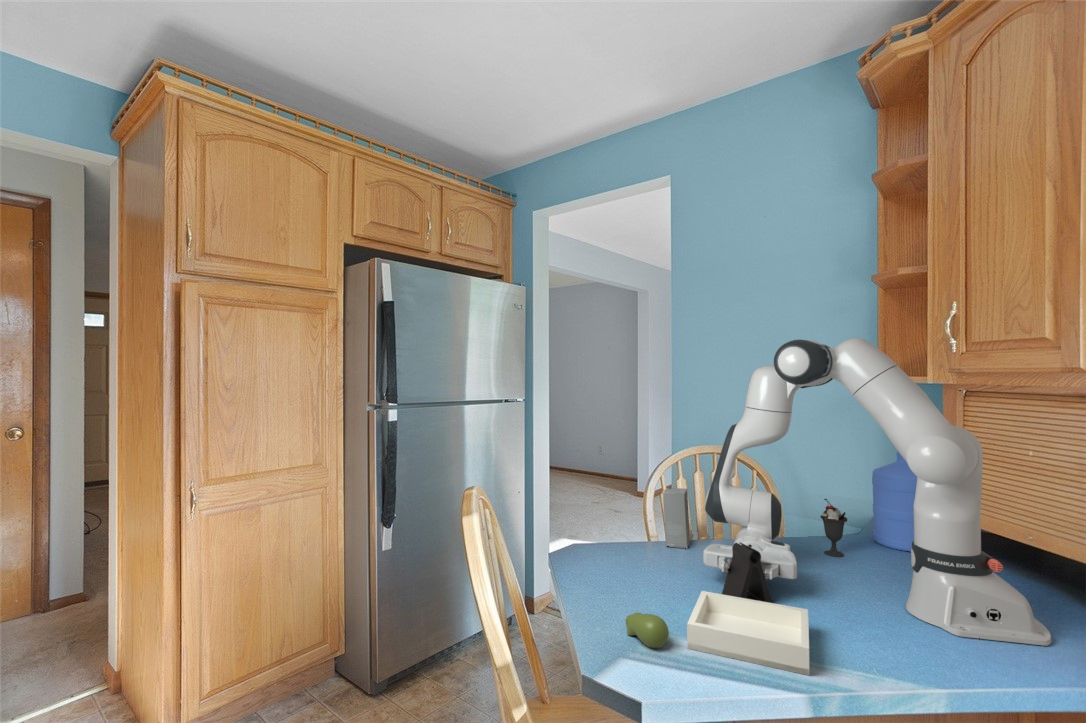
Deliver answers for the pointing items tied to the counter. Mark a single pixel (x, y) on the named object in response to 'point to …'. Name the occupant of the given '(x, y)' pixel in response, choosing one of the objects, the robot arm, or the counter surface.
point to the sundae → (833, 528)
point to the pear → (648, 629)
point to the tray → (750, 631)
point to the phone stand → (746, 575)
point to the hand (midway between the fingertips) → (746, 572)
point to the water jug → (894, 505)
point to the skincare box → (676, 517)
